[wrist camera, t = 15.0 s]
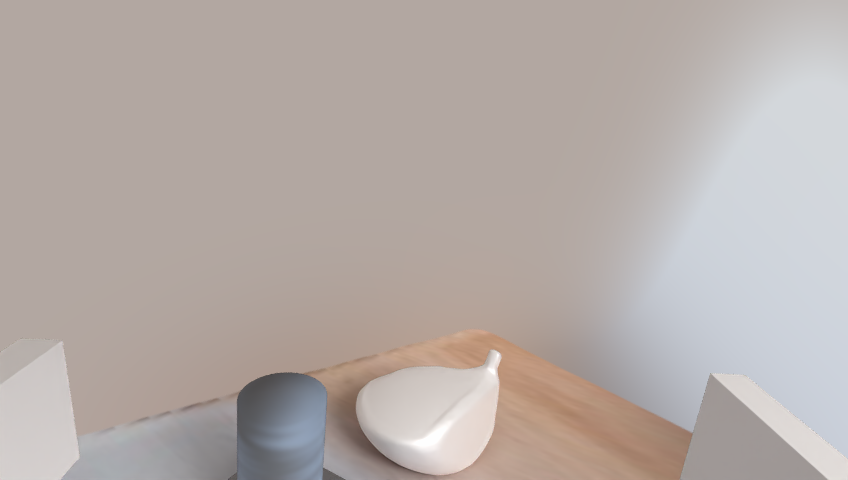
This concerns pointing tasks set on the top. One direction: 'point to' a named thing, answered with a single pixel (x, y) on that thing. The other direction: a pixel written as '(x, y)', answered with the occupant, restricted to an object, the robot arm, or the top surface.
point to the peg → (281, 428)
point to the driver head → (431, 415)
